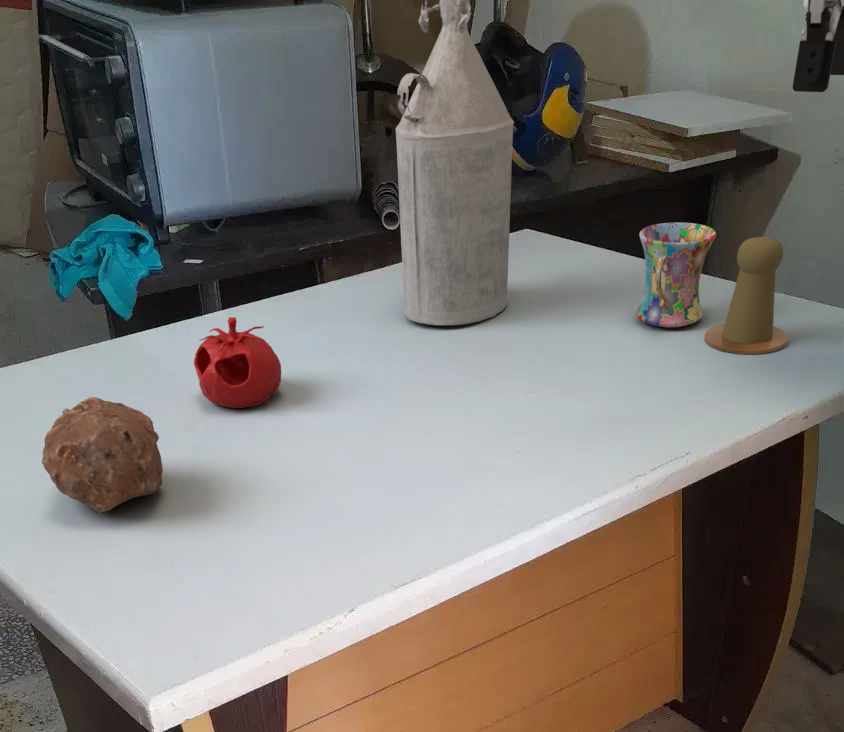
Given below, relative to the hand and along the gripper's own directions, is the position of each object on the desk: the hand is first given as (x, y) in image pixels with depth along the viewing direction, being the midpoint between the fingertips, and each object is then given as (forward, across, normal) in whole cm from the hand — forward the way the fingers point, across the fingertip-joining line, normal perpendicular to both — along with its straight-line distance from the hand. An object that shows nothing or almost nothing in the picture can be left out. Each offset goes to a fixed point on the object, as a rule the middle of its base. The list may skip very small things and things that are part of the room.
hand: (820, 82), depth 100 cm
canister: (+28, +5, +44) cm, 53 cm away
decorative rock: (+28, -57, +51) cm, 82 cm away
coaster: (+28, +8, +5) cm, 30 cm away
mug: (+28, +10, +16) cm, 34 cm away
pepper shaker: (+28, +8, +5) cm, 30 cm away
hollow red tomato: (+28, -31, +54) cm, 68 cm away
